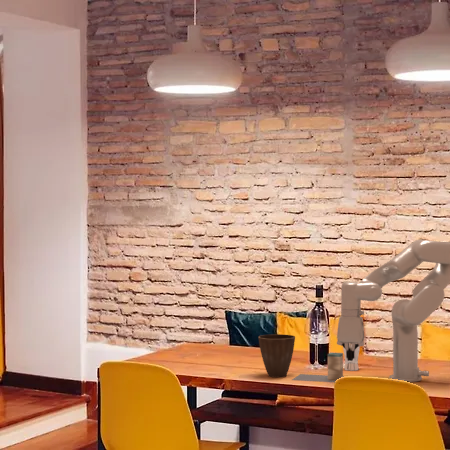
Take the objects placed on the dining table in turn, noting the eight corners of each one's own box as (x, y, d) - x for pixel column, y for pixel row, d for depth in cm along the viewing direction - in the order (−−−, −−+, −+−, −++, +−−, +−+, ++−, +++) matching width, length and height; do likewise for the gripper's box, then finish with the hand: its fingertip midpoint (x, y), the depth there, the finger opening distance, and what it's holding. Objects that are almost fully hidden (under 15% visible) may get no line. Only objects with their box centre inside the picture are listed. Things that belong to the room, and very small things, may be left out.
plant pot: (251, 376, 398) (251, 337, 398) (270, 371, 410) (270, 333, 410) (283, 380, 390) (283, 339, 389) (302, 374, 402) (301, 335, 402)
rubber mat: (353, 378, 393) (353, 376, 393) (346, 384, 380) (346, 382, 380) (300, 375, 400) (300, 374, 400) (291, 381, 387) (291, 380, 387)
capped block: (342, 378, 390) (342, 353, 390) (340, 380, 385) (340, 354, 385) (330, 377, 391) (330, 352, 391) (327, 379, 387) (327, 354, 387)
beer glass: (346, 371, 409) (346, 335, 409) (341, 368, 416) (340, 333, 416) (362, 370, 411) (362, 334, 410) (356, 367, 418) (356, 332, 417)
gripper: (371, 313, 387) (371, 360, 387) (334, 311, 392) (333, 357, 392) (368, 315, 380) (367, 362, 380) (329, 313, 384) (329, 360, 385)
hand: (350, 360), depth 386 cm, fingers closed
